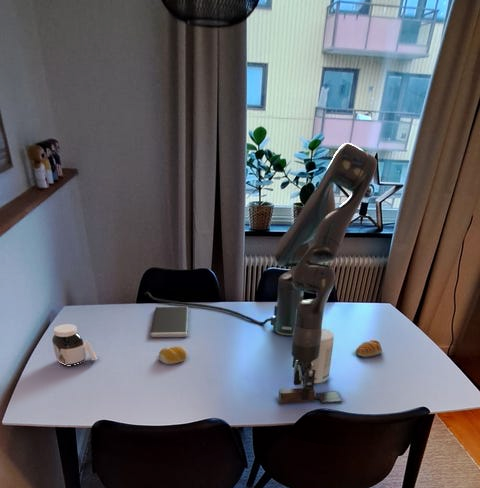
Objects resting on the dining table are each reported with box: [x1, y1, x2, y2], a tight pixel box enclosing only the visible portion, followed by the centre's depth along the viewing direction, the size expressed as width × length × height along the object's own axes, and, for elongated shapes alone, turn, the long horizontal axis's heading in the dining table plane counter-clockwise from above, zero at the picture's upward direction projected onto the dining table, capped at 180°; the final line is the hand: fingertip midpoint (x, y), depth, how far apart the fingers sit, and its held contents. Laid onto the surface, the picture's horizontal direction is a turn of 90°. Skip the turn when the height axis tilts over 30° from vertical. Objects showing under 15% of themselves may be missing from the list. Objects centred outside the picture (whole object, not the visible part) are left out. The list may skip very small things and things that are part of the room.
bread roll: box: [158, 346, 187, 365], centre depth 158 cm, size 8×9×4 cm
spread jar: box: [51, 323, 98, 368], centre depth 153 cm, size 12×11×12 cm
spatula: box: [277, 387, 343, 405], centre depth 139 cm, size 18×5×3 cm, turn 99°
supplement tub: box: [302, 327, 334, 384], centre depth 146 cm, size 10×10×15 cm
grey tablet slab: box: [150, 306, 189, 338], centre depth 183 cm, size 13×27×2 cm, turn 4°
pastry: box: [355, 339, 383, 358], centre depth 164 cm, size 9×7×4 cm
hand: (300, 391), depth 138 cm, fingers open, 8 cm apart
